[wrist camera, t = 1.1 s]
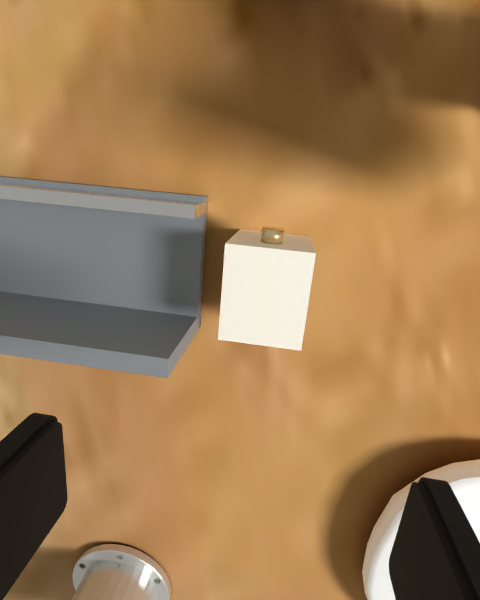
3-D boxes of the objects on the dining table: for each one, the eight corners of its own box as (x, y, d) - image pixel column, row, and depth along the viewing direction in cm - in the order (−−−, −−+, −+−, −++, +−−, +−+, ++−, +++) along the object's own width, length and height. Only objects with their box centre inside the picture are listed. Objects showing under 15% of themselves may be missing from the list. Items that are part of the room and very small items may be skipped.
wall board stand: (200, 326, 36) (167, 378, 26) (-13, 298, 38) (-115, 337, 28) (208, 196, 32) (172, 201, 22) (-29, 173, 34) (-153, 169, 24)
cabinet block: (298, 313, 34) (301, 350, 26) (233, 305, 35) (218, 339, 27) (311, 224, 32) (318, 237, 24) (241, 217, 32) (226, 228, 25)
